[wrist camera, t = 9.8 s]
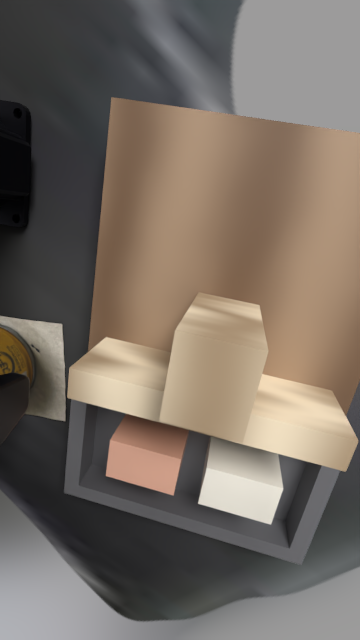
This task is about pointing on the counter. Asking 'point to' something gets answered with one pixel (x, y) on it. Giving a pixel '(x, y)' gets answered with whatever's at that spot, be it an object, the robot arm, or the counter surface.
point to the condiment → (36, 363)
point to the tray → (196, 490)
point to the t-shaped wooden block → (217, 386)
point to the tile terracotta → (147, 453)
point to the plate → (233, 234)
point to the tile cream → (241, 480)
